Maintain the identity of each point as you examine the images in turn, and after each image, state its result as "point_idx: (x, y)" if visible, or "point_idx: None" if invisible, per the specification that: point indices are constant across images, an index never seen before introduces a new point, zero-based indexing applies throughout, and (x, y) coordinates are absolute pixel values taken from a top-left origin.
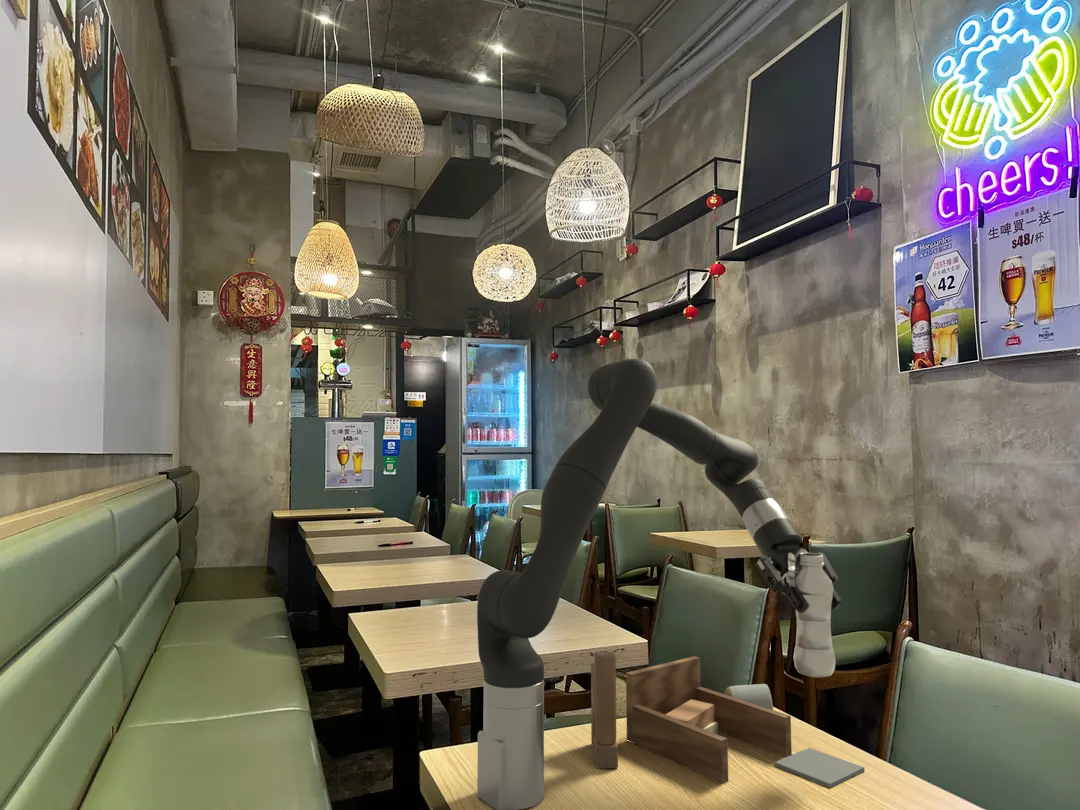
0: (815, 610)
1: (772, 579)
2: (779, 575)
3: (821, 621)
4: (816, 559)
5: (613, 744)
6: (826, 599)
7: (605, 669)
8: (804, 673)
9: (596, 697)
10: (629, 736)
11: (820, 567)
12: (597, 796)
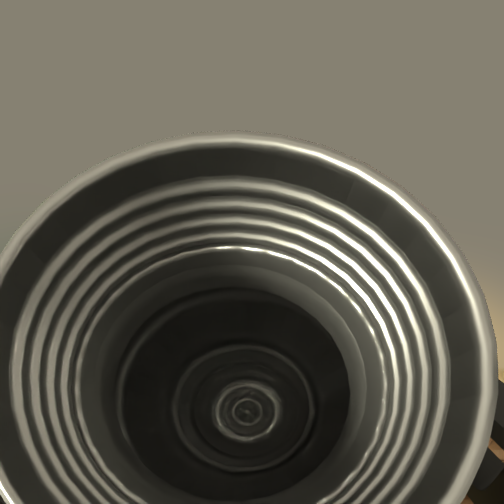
0: (282, 340)
1: (479, 485)
2: (501, 417)
3: (253, 347)
4: (267, 177)
5: (491, 441)
6: (227, 307)
7: None
8: (287, 397)
9: None
10: None
11: (186, 275)
12: (498, 378)
